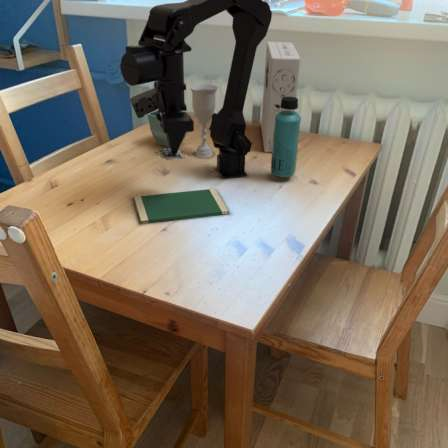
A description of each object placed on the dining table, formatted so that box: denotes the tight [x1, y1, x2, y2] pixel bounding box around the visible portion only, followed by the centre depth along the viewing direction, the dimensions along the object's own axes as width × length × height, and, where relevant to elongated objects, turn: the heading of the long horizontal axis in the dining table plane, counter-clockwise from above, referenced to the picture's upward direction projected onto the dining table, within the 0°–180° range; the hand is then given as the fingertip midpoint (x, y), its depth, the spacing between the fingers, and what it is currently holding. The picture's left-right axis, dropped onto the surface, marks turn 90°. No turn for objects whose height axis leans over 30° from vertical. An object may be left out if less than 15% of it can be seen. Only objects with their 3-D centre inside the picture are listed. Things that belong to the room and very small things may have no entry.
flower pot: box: [147, 109, 190, 148], centre depth 140 cm, size 9×9×9 cm
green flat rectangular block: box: [133, 188, 230, 225], centre depth 112 cm, size 20×12×1 cm, turn 106°
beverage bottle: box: [270, 97, 302, 178], centre depth 120 cm, size 6×7×20 cm
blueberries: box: [154, 147, 188, 161], centre depth 109 cm, size 7×8×2 cm
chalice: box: [189, 83, 219, 159], centre depth 132 cm, size 7×7×18 cm
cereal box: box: [260, 41, 301, 153], centre depth 140 cm, size 22×8×25 cm, turn 179°
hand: (173, 151), depth 109 cm, fingers closed on blueberries, 2 cm apart
